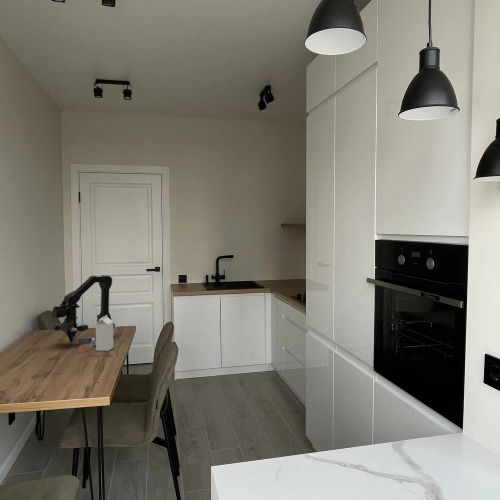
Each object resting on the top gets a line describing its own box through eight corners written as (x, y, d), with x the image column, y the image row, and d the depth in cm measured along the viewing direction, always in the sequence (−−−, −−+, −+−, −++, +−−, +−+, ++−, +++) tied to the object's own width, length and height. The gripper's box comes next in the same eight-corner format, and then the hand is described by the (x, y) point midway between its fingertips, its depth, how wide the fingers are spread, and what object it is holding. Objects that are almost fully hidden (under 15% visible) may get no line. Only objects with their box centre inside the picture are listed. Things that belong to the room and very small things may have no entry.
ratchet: (87, 344, 241) (87, 335, 241) (99, 344, 240) (99, 335, 240) (71, 352, 225) (71, 342, 225) (84, 352, 224) (84, 343, 224)
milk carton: (113, 347, 234) (113, 315, 234) (108, 351, 227) (107, 317, 226) (101, 347, 235) (101, 315, 234) (95, 350, 228) (95, 317, 227)
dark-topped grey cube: (83, 344, 241) (83, 336, 241) (93, 345, 240) (93, 336, 240) (79, 346, 236) (79, 338, 236) (88, 347, 235) (88, 338, 235)
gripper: (48, 318, 232) (48, 345, 233) (78, 318, 230) (78, 346, 231) (59, 314, 243) (59, 340, 244) (88, 315, 241) (88, 341, 242)
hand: (71, 342), depth 240 cm, fingers closed
